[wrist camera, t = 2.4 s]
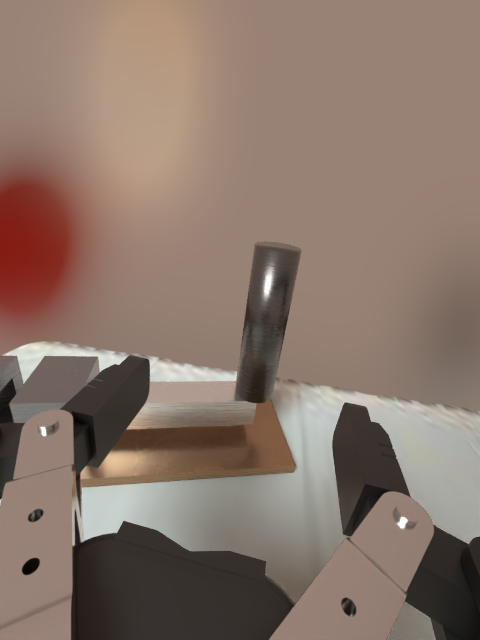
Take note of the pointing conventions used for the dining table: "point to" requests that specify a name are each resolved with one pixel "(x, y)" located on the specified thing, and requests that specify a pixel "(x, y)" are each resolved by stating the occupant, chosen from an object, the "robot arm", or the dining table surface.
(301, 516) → the dining table surface
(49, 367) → the shaft bracket
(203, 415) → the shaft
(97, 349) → the dining table surface
